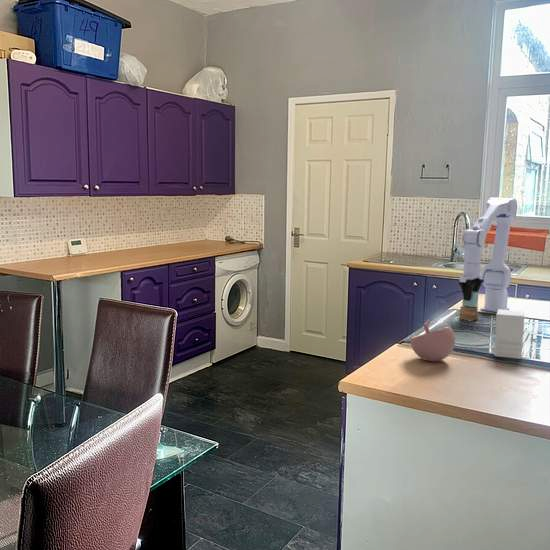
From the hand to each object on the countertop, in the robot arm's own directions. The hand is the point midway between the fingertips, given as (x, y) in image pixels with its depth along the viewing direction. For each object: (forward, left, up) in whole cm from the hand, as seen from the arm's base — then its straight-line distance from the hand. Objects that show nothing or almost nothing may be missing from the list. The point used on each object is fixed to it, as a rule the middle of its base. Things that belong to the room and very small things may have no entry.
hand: (470, 299), depth 206 cm
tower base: (0, 0, -8) cm, 8 cm away
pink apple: (+55, +15, -8) cm, 58 cm away
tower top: (0, 0, -5) cm, 5 cm away
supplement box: (+34, +28, -8) cm, 45 cm away
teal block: (0, 0, -2) cm, 2 cm away
